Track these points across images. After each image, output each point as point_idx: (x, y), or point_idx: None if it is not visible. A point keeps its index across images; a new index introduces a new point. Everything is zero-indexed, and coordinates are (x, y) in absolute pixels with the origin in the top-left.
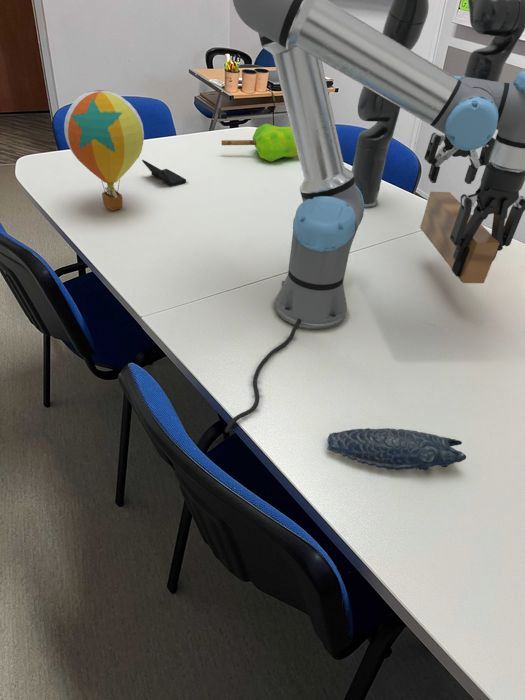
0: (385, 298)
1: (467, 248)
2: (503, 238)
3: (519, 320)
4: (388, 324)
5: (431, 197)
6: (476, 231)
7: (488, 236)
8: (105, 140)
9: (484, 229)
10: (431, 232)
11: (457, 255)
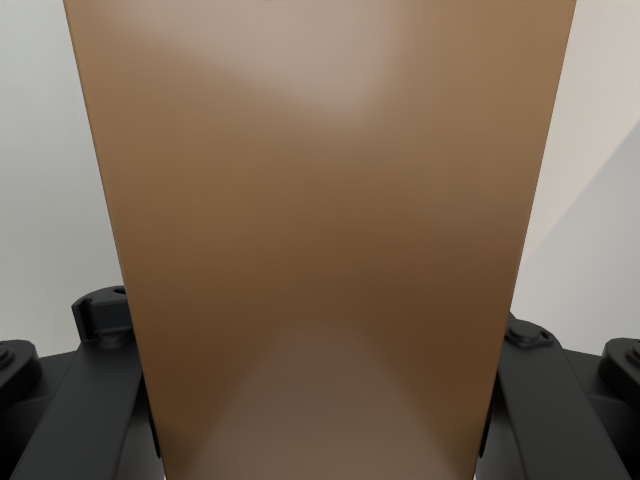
0: (50, 105)
1: None
2: (624, 431)
3: (533, 251)
4: (54, 269)
5: None
6: (297, 369)
7: (407, 476)
8: None
9: (477, 302)
10: None
11: None
